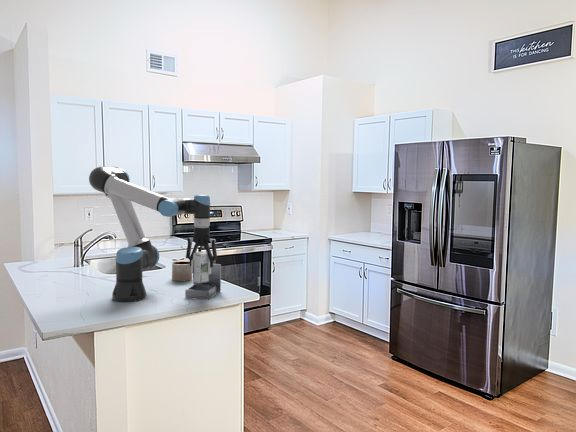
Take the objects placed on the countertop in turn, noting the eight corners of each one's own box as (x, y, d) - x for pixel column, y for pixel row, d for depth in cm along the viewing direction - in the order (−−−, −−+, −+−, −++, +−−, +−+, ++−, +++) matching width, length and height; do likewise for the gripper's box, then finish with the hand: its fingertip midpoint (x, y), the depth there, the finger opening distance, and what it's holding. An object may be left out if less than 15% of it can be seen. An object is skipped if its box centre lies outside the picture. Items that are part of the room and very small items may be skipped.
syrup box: (201, 279, 226) (202, 251, 225) (209, 281, 223) (210, 252, 221) (192, 281, 222) (192, 252, 221) (200, 283, 218) (200, 253, 217)
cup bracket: (182, 297, 218) (183, 268, 217) (194, 289, 234) (194, 262, 232) (211, 299, 216) (211, 270, 215) (220, 291, 232) (221, 264, 230)
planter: (177, 282, 247) (177, 265, 246) (168, 279, 255) (168, 262, 254) (195, 280, 254) (195, 263, 253) (185, 276, 262) (186, 260, 261)
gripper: (178, 226, 218) (178, 273, 220) (220, 228, 215) (219, 276, 217) (184, 225, 225) (183, 270, 227) (224, 226, 222) (223, 273, 224)
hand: (201, 273), depth 222 cm, fingers closed on syrup box, 8 cm apart
